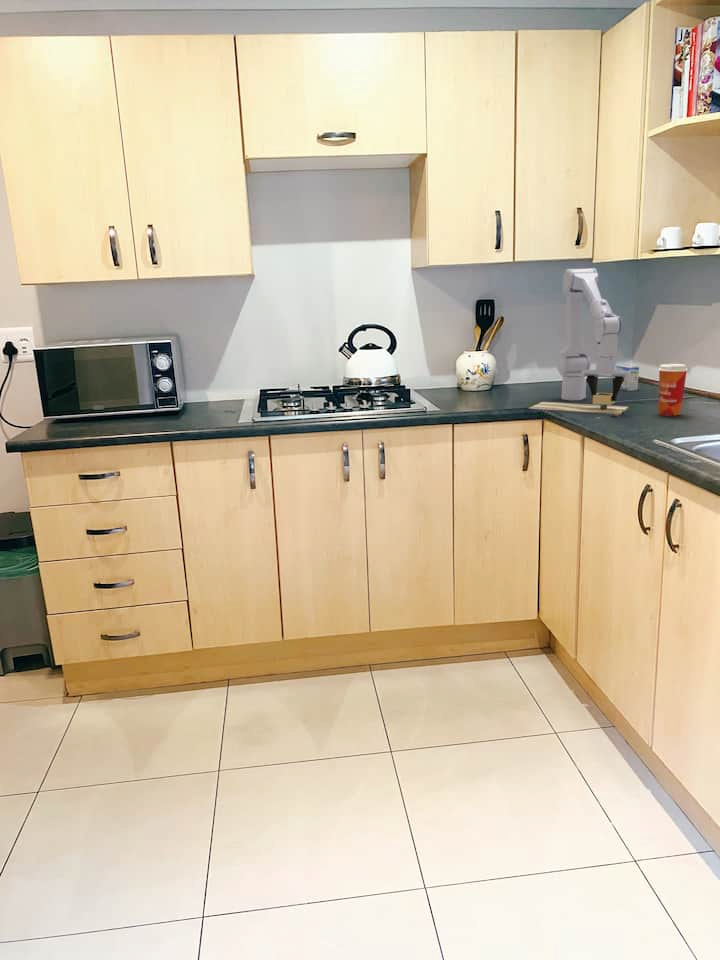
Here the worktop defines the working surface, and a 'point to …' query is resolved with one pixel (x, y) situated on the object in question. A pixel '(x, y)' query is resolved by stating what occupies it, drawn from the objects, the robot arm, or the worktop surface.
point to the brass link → (603, 398)
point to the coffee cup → (671, 388)
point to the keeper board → (581, 407)
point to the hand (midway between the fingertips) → (604, 400)
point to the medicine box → (631, 382)
